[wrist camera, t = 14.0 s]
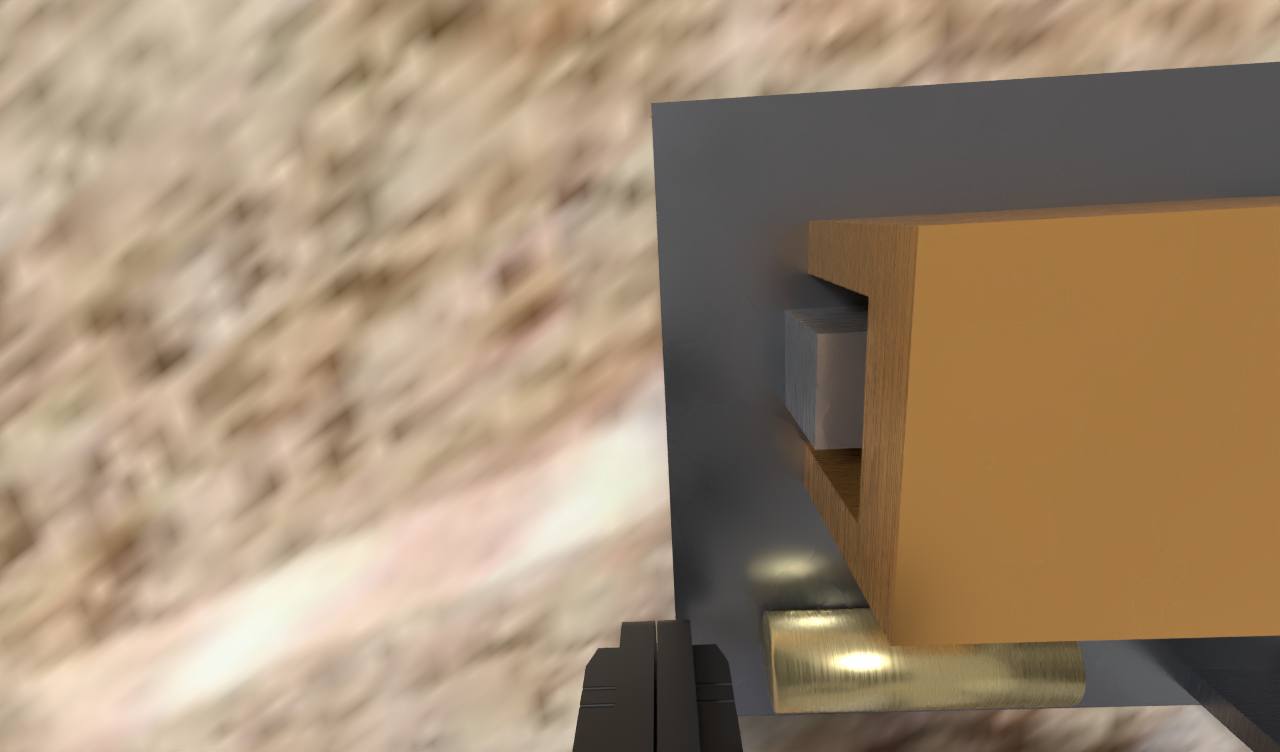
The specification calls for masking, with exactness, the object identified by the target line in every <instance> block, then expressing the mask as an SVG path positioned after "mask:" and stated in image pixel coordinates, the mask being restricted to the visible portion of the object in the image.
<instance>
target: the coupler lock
mask: <svg viewBox="0 0 1280 752" xmlns="http://www.w3.org/2000/svg"><path fill="white" fill-rule="evenodd" d="M808 273H809V274H811V275H814V276H816V277H819V278H822V279H824V280H827V281H829V282H832V283H834V284H837V285H840V286H842V287H845V288H847V289H850V290H852V291H855V292H858V293H860V294H863V295H865V296H868V297H869V305H868V327H867V349H866V372H865V394H864V416H863V438H862V448H845V449H821V450H815V449H814V447H813V446H812V444H811V443H805V471H804V486H805V488H806V490H807V492H808V494H809V496H810V497H811V499H812V501H813V503H814V505H815V507H816V508H817V510H818V512H819V514H820V516H821V518H822V519H823V521H824V523H825V525H826V527H827V529H828V531H829V532H830V534H831V536H832V538H833V540H834V542H835V543H836V545H837V547H838V549H839V551H840V553H841V554H842V556H843V558H844V560H845V562H846V564H847V565H848V567H849V569H850V571H851V573H852V575H853V576H854V578H855V580H856V582H857V584H858V586H859V588H860V589H861V591H862V593H863V595H864V597H865V599H866V600H867V602H868V604H869V606H870V608H871V610H872V611H873V613H874V615H875V617H876V619H877V621H878V622H879V624H880V626H881V628H882V630H883V632H884V633H885V635H886V637H887V639H888V641H889V643H890V644H891V646H911V645H947V644H984V643H1021V642H1058V641H1094V640H1131V639H1168V638H1205V637H1242V636H1278V635H1280V196H1266V197H1235V198H1217V199H1199V200H1181V201H1163V202H1145V203H1127V204H1109V205H1091V206H1073V207H1056V208H1038V209H1020V210H1002V211H984V212H966V213H948V214H930V215H912V216H894V217H876V218H858V219H840V220H823V221H809V254H808Z"/></svg>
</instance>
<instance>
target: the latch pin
mask: <svg viewBox="0 0 1280 752" xmlns="http://www.w3.org/2000/svg"><path fill="white" fill-rule="evenodd" d="M762 644H763V657H764V666H765V674H766V681H767V687H768V692H769V697H770V701H771V705H772V708H773V710H774V712H775V713H817V712H859V711H900V710H942V709H983V708H1024V707H1066V706H1075V705H1077V704H1078V703H1079V702H1080V701H1081V699H1082V698H1083V695H1084V692H1085V686H1086V673H1085V666H1084V661H1083V657H1082V653H1081V650H1080V647H1079V645H1078V642H1077V641H1058V642H1021V643H984V644H947V645H911V646H891V644H890V643H889V641H888V639H887V637H886V635H885V633H884V632H883V630H882V628H881V626H880V624H879V622H878V621H877V619H876V617H875V615H874V613H873V611H872V610H871V608H856V609H824V610H792V611H765V612H764V613H763V618H762Z"/></svg>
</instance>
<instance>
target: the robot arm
mask: <svg viewBox="0 0 1280 752" xmlns="http://www.w3.org/2000/svg"><path fill="white" fill-rule="evenodd" d="M573 752H743V749H742V743H741V736H740V730H739V724H738V717H737V711H736V705H735V698H734V692H733V686H732V679H731V673H730V667H729V661H728V660H727V658H726V657H725V656H724V654H723V653H722V652H721V650H720V649H719V647H718V646H717V645H716V644H703V645H692V637H691V625H690V620H665V621H658V622H657V640H656V626H655V621H642V622H622V627H621V638H620V648H598V650H597V651H596V653H595V654H594V656H593V657H592V658H591V660H590V661H589V663H588V664H587V666H586V670H585V676H584V682H583V691H582V695H581V701H580V708H579V714H578V720H577V726H576V733H575V739H574V745H573Z"/></svg>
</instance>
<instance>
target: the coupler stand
mask: <svg viewBox="0 0 1280 752" xmlns="http://www.w3.org/2000/svg"><path fill="white" fill-rule="evenodd" d="M651 106H652V127H653V149H654V170H655V191H656V212H657V233H658V254H659V275H660V296H661V317H662V338H663V359H664V380H665V401H666V422H667V443H668V464H669V486H670V507H671V528H672V549H673V570H674V591H675V612H676V620H690V625H691V637H692V645H703V644H716V645H717V646H718V647H719V649H720V650H721V652H722V653H723V654H724V656H725V657H726V658H727V660H728V661H729V667H730V673H731V679H732V686H733V692H734V698H735V705H736V711H737V716H752V715H794V714H835V713H877V712H918V711H960V710H1001V709H1043V708H1085V707H1126V706H1168V705H1202V706H1203V707H1204V708H1206V709H1207V710H1208V711H1209V712H1210V713H1211V714H1212V715H1213V716H1214V717H1216V718H1217V719H1218V720H1219V721H1220V722H1221V723H1222V724H1223V725H1224V726H1226V727H1227V728H1228V729H1229V730H1230V731H1231V732H1232V733H1233V734H1235V735H1236V736H1237V737H1238V738H1239V739H1240V740H1241V741H1242V742H1243V743H1245V744H1246V745H1247V746H1248V747H1249V748H1250V749H1251V750H1252V751H1253V752H1280V635H1278V636H1242V637H1205V638H1168V639H1131V640H1094V641H1077V642H1078V645H1079V647H1080V650H1081V653H1082V657H1083V661H1084V666H1085V673H1086V686H1085V692H1084V695H1083V698H1082V699H1081V701H1080V702H1079V703H1078V704H1077V705H1075V706H1066V707H1024V708H983V709H942V710H900V711H859V712H817V713H775V712H774V710H773V708H772V705H771V701H770V697H769V692H768V687H767V681H766V674H765V666H764V657H763V644H762V618H763V613H764V612H765V611H792V610H824V609H856V608H870V606H869V604H868V602H867V600H866V599H865V597H864V595H863V593H862V591H861V589H860V588H859V586H858V584H857V582H856V580H855V578H854V576H853V575H852V573H851V571H850V569H849V567H848V565H847V564H846V562H845V560H844V558H843V556H842V554H841V553H840V551H839V549H838V547H837V545H836V543H835V542H834V540H833V538H832V536H831V534H830V532H829V531H828V529H827V527H826V525H825V523H824V521H823V519H822V518H821V516H820V514H819V512H818V510H817V508H816V507H815V505H814V503H813V501H812V499H811V497H810V496H809V494H808V492H807V490H806V488H805V486H804V471H805V443H811V444H812V446H813V447H814V449H815V450H821V449H845V448H862V438H863V416H864V394H865V372H866V349H867V327H868V305H869V297H868V296H865V295H863V294H860V293H858V292H855V291H852V290H850V289H847V288H845V287H842V286H840V285H837V284H834V283H832V282H829V281H827V280H824V279H822V278H819V277H816V276H814V275H811V274H809V273H808V254H809V221H823V220H840V219H858V218H876V217H894V216H912V215H930V214H948V213H966V212H984V211H1002V210H1020V209H1038V208H1056V207H1073V206H1091V205H1109V204H1127V203H1145V202H1163V201H1181V200H1199V199H1217V198H1235V197H1266V196H1280V62H1270V63H1255V64H1240V65H1224V66H1209V67H1194V68H1179V69H1164V70H1149V71H1134V72H1119V73H1103V74H1088V75H1073V76H1058V77H1043V78H1028V79H1013V80H997V81H982V82H967V83H952V84H937V85H922V86H907V87H892V88H876V89H861V90H846V91H831V92H816V93H801V94H786V95H771V96H755V97H740V98H725V99H710V100H695V101H680V102H665V103H651Z"/></svg>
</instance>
